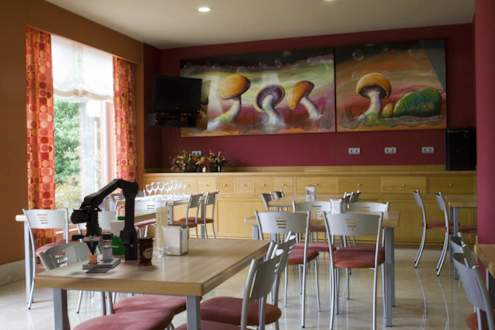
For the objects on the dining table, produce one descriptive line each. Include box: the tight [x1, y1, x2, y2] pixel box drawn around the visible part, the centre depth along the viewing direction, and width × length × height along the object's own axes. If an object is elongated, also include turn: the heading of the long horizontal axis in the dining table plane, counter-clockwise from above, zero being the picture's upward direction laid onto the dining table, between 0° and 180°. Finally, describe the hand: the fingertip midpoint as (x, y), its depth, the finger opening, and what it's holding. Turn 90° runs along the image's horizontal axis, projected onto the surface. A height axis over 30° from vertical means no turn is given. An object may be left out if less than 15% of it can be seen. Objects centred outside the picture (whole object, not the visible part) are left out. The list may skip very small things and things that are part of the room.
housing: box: [82, 257, 122, 270], centre depth 262 cm, size 14×16×2 cm
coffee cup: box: [136, 236, 155, 266], centre depth 262 cm, size 9×8×13 cm
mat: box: [85, 268, 112, 274], centre depth 248 cm, size 9×9×1 cm
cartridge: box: [101, 245, 113, 261], centre depth 265 cm, size 5×5×8 cm
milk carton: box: [108, 215, 126, 256], centre depth 296 cm, size 9×9×20 cm
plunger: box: [88, 253, 98, 264], centre depth 258 cm, size 4×4×4 cm
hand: (93, 255), depth 258 cm, fingers closed, pressing on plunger
